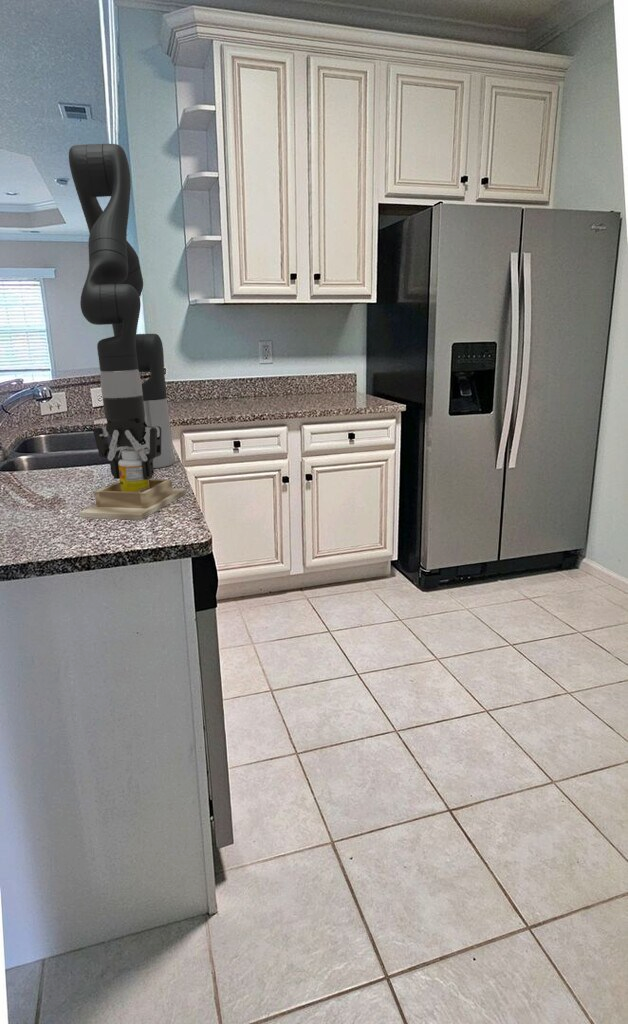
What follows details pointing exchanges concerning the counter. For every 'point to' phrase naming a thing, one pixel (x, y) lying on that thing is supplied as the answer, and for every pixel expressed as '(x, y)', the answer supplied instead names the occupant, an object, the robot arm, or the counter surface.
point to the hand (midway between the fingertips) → (133, 478)
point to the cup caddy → (132, 501)
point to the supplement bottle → (132, 472)
